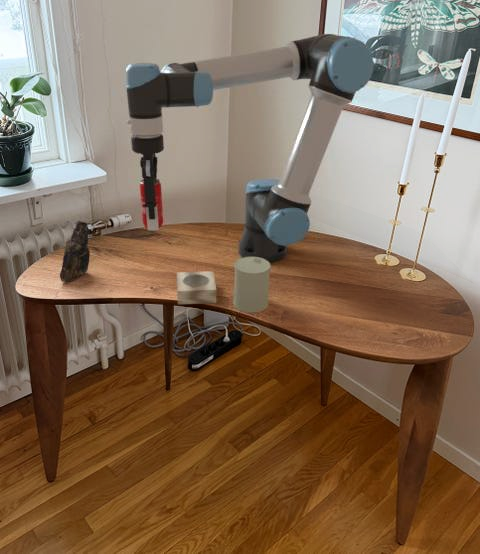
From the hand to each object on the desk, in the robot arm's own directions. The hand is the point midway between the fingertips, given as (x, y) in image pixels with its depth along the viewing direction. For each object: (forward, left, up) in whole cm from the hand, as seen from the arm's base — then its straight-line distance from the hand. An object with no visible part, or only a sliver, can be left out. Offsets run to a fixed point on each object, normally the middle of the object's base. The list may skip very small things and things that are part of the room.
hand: (153, 224), depth 134 cm
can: (-24, +11, -19) cm, 33 cm away
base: (-10, +5, -18) cm, 22 cm away
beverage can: (0, 0, 0) cm, 0 cm away
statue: (+23, -8, -19) cm, 30 cm away
